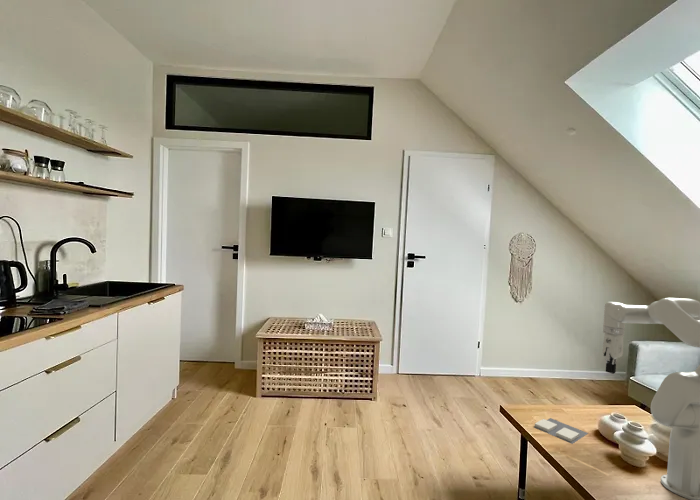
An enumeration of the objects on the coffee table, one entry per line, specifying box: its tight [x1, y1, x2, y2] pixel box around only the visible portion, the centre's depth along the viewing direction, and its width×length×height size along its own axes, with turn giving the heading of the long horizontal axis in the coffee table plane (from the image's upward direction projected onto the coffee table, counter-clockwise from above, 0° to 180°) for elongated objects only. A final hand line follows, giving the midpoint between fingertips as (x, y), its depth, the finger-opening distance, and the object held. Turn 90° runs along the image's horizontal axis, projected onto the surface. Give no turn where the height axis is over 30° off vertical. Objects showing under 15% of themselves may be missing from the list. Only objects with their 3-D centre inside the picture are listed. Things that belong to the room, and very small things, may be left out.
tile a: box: [556, 427, 579, 442], centre depth 159 cm, size 6×1×8 cm
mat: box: [533, 417, 589, 445], centre depth 163 cm, size 16×16×1 cm
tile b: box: [534, 418, 557, 432], centre depth 166 cm, size 6×1×8 cm
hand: (610, 372), depth 163 cm, fingers closed
